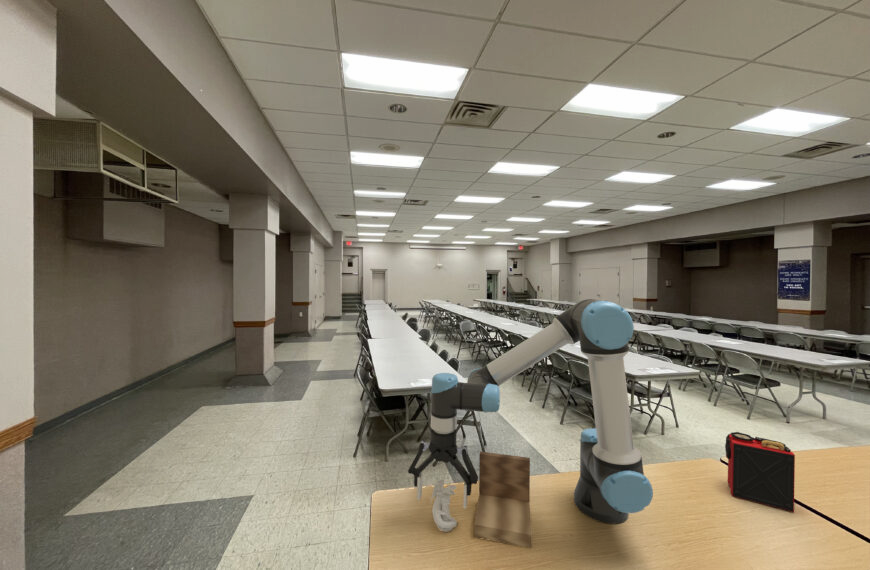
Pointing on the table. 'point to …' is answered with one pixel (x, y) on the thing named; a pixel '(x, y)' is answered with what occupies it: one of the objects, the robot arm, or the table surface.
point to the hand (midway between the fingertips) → (442, 501)
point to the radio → (760, 470)
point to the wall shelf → (504, 499)
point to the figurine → (443, 505)
